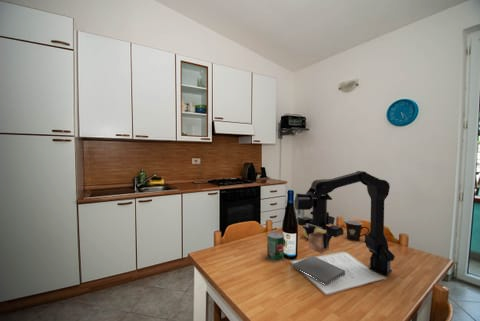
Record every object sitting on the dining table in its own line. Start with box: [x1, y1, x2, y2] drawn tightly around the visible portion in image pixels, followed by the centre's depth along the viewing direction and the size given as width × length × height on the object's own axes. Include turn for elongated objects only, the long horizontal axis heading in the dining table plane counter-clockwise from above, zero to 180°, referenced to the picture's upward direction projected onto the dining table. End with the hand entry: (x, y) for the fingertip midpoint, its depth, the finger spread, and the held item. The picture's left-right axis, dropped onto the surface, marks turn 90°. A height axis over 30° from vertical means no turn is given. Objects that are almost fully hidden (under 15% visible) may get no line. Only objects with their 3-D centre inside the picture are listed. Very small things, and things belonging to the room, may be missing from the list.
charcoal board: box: [292, 255, 346, 286], centre depth 91 cm, size 16×14×2 cm
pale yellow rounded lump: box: [301, 226, 325, 240], centre depth 127 cm, size 11×12×11 cm
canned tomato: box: [266, 231, 285, 262], centre depth 103 cm, size 8×8×11 cm
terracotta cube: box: [308, 232, 330, 254], centre depth 91 cm, size 6×6×6 cm
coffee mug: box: [345, 219, 370, 242], centre depth 125 cm, size 12×9×10 cm
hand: (318, 245), depth 91 cm, fingers closed on terracotta cube, 6 cm apart
